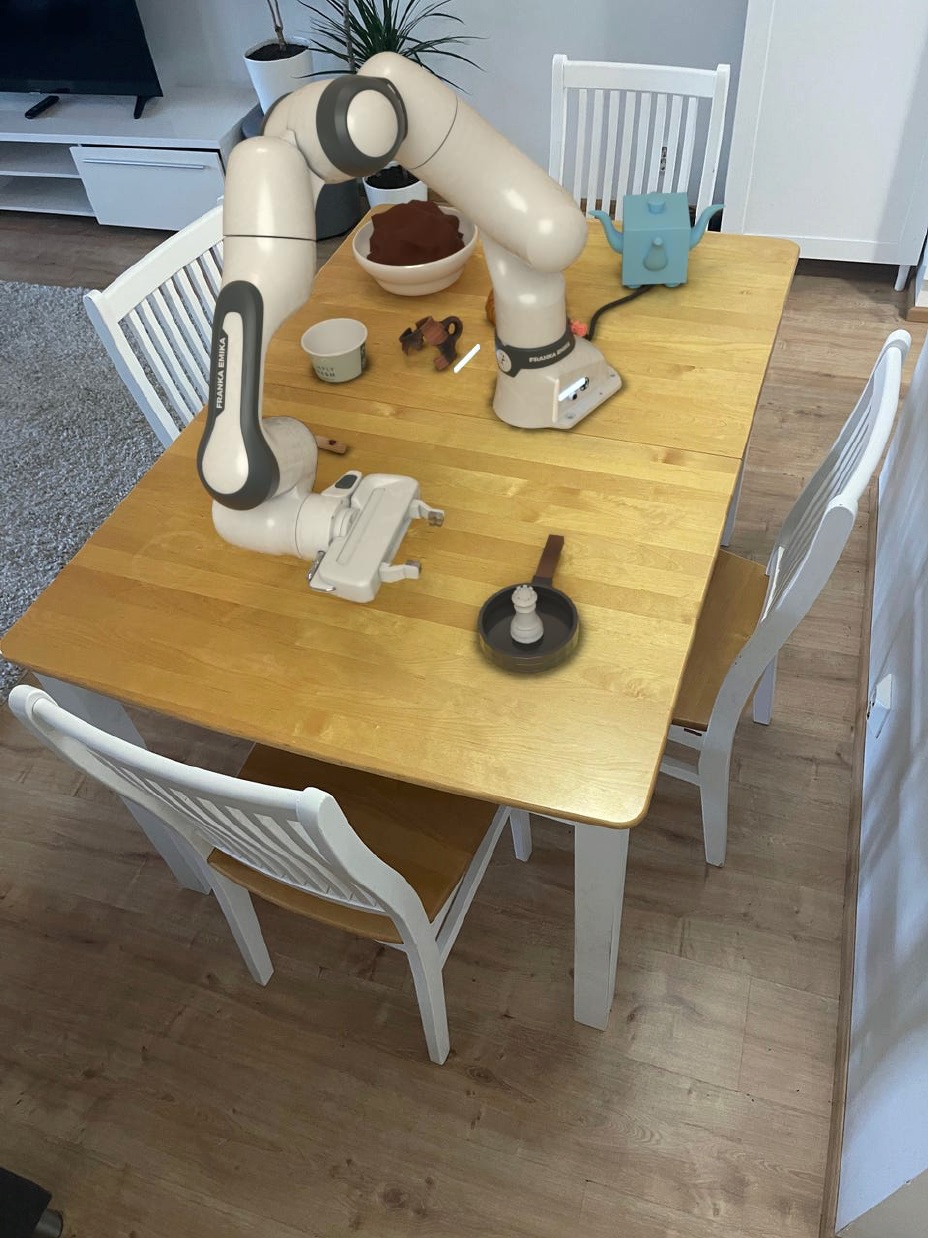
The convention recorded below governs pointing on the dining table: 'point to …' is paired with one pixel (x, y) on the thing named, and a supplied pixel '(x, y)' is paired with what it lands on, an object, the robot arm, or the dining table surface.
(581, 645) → the dining table surface
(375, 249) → the white bowl
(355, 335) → the food container
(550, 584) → the pan handle
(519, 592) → the rook chess piece
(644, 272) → the teakettle
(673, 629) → the dining table surface
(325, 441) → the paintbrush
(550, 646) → the pan
